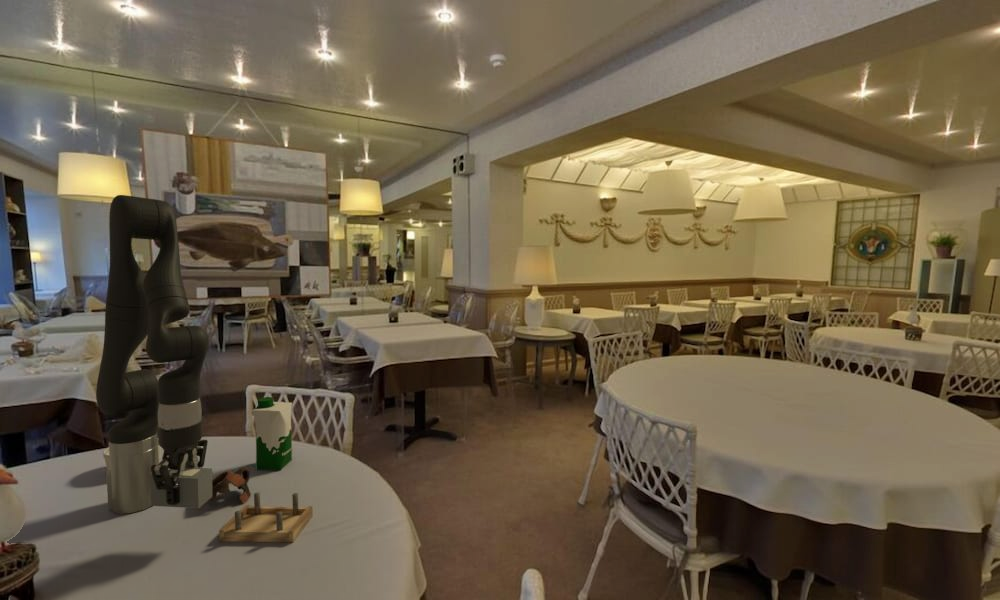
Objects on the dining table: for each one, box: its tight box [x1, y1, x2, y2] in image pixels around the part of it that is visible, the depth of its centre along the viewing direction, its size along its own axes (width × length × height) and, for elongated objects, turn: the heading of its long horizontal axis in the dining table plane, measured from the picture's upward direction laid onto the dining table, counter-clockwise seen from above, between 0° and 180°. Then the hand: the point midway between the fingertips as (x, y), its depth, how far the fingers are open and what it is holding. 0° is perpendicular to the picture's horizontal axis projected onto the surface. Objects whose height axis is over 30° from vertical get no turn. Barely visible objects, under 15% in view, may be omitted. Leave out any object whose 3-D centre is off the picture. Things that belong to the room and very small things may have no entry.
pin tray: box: [218, 491, 313, 543], centre depth 102 cm, size 16×10×6 cm, turn 90°
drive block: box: [150, 467, 213, 509], centre depth 96 cm, size 10×4×7 cm, turn 90°
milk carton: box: [252, 396, 293, 471], centre depth 132 cm, size 9×9×20 cm
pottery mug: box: [207, 467, 252, 505], centre depth 114 cm, size 12×10×8 cm
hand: (182, 496), depth 96 cm, fingers closed on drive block, 4 cm apart
